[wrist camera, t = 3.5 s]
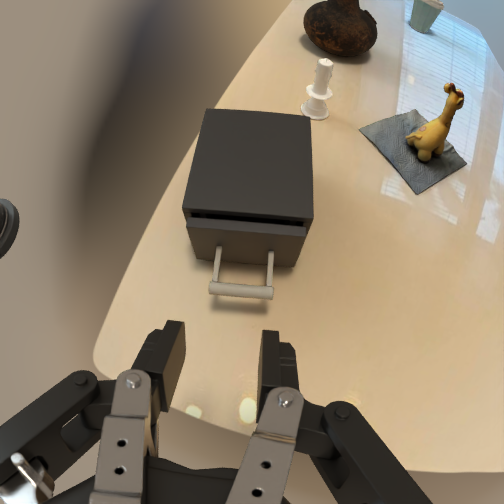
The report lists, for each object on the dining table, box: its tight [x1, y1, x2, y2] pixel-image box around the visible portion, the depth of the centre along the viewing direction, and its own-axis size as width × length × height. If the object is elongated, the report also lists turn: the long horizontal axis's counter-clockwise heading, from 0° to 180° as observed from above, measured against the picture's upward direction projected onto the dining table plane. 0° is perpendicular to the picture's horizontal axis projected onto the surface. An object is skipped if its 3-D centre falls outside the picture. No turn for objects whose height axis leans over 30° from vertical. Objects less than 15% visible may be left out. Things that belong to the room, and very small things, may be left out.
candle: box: [301, 58, 333, 120], centre depth 49 cm, size 5×5×12 cm
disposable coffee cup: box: [410, 0, 444, 33], centre depth 71 cm, size 11×11×15 cm
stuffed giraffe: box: [359, 83, 467, 195], centre depth 46 cm, size 16×18×16 cm
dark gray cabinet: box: [182, 109, 313, 254], centre depth 41 cm, size 16×14×11 cm
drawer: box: [186, 213, 306, 300], centre depth 39 cm, size 20×13×9 cm, turn 175°
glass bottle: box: [304, 0, 377, 56], centre depth 53 cm, size 18×18×28 cm
